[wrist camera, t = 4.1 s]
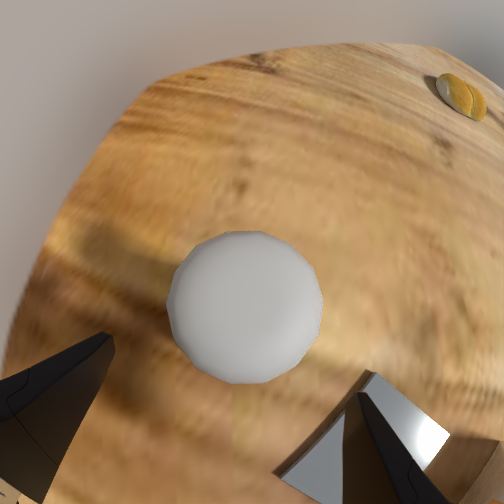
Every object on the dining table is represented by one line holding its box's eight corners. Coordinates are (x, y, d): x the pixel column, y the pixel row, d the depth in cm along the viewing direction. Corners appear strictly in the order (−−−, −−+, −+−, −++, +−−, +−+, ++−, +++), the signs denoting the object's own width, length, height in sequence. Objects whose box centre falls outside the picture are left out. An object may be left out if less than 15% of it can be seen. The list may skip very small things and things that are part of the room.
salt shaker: (191, 303, 20) (119, 218, 8) (271, 284, 20) (315, 175, 8) (211, 386, 18) (159, 437, 6) (294, 364, 19) (384, 375, 6)
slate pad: (367, 524, 14) (370, 527, 13) (279, 475, 16) (281, 478, 15) (445, 433, 16) (449, 434, 16) (373, 372, 18) (376, 372, 18)
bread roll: (487, 129, 30) (500, 113, 26) (445, 110, 30) (457, 90, 26) (469, 95, 32) (479, 80, 29) (428, 76, 32) (438, 58, 29)
